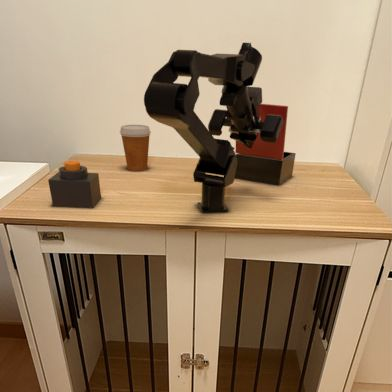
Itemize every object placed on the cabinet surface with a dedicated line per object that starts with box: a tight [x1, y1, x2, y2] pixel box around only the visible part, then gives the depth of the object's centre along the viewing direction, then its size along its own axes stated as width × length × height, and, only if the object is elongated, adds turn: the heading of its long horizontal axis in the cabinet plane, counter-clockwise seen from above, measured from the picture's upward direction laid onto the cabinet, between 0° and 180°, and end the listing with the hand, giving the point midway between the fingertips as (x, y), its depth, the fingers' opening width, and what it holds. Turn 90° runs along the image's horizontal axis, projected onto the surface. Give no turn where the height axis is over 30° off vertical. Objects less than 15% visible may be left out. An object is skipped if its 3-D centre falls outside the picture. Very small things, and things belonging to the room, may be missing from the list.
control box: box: [47, 165, 102, 209], centre depth 101 cm, size 10×8×8 cm
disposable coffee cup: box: [119, 124, 152, 172], centre depth 129 cm, size 10×10×12 cm
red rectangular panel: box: [235, 103, 289, 159], centre depth 114 cm, size 13×15×1 cm
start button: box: [63, 160, 81, 171], centre depth 98 cm, size 4×4×2 cm
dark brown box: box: [234, 151, 296, 186], centre depth 126 cm, size 13×15×7 cm
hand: (251, 146), depth 112 cm, fingers closed
